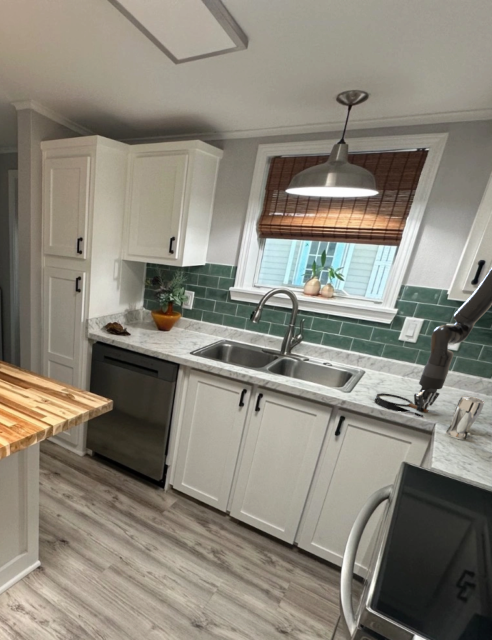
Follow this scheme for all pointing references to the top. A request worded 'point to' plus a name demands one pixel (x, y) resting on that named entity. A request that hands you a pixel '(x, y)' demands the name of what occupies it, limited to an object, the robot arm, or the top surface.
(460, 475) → the top surface
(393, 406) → the frying pan
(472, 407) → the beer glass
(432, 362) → the robot arm
